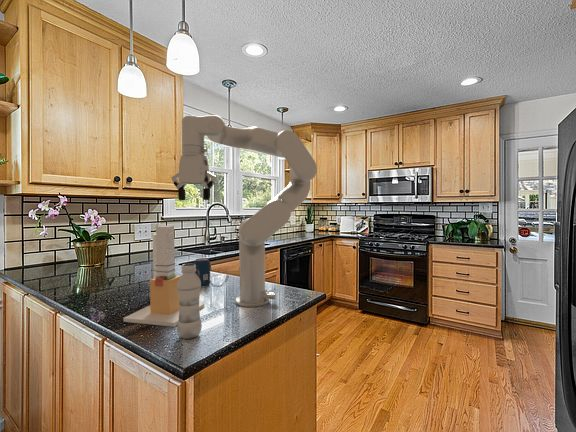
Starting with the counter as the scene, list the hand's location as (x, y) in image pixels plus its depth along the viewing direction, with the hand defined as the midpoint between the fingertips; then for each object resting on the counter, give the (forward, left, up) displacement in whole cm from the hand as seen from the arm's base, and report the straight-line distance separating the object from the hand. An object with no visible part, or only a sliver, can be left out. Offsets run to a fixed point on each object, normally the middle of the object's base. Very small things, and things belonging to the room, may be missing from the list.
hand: (194, 200), depth 108 cm
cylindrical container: (+19, -8, -38) cm, 44 cm away
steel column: (+5, +10, -31) cm, 33 cm away
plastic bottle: (-12, +24, -38) cm, 47 cm away
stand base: (+5, +10, -38) cm, 40 cm away
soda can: (+11, -25, -38) cm, 47 cm away
